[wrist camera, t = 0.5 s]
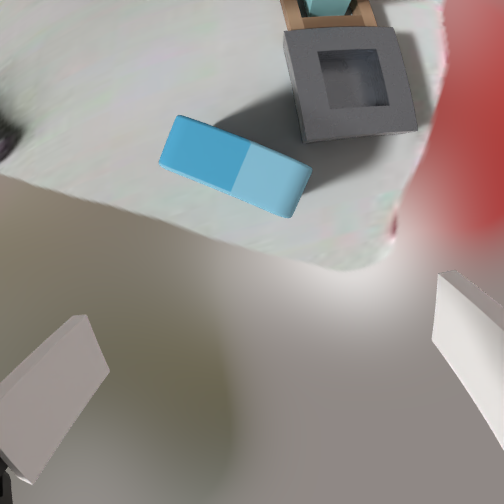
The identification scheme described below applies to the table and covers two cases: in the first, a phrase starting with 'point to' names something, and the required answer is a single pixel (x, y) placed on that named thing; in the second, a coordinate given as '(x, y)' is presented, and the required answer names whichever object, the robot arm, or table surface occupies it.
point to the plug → (326, 7)
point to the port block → (348, 83)
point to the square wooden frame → (329, 17)
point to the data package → (235, 166)
